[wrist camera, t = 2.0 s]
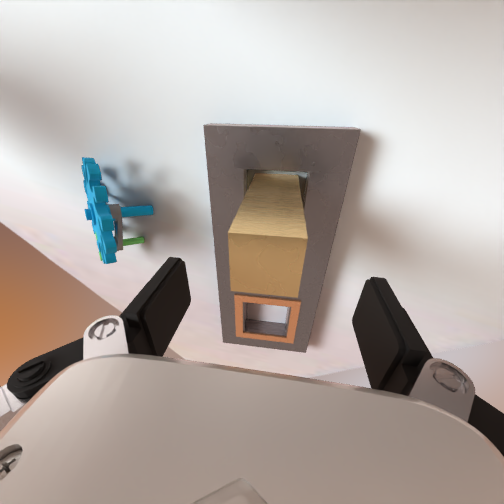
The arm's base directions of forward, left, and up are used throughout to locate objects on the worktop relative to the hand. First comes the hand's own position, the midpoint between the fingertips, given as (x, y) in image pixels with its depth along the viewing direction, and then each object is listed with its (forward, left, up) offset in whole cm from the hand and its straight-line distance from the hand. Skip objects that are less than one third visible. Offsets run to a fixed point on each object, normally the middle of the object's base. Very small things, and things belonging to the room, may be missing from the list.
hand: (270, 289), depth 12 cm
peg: (-1, 0, -13) cm, 13 cm away
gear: (+1, -17, -13) cm, 22 cm away
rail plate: (+7, 0, -13) cm, 15 cm away
